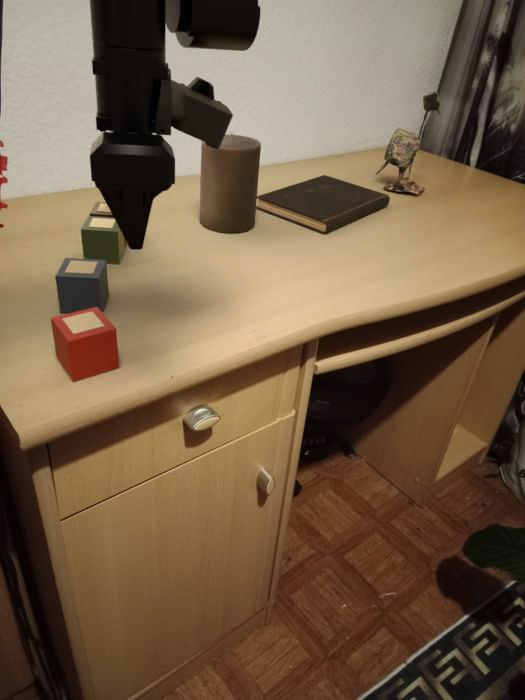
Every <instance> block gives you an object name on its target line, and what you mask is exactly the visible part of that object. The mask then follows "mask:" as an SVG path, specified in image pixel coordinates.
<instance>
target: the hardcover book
mask: <svg viewBox="0 0 525 700" xmlns="http://www.w3.org/2000/svg"><path fill="white" fill-rule="evenodd" d="M390 201H391V197H390V196H389V194H386V193H383V192H380V191H377V190H374V189H370V188H367V187H365V186H361V185H358V184H355V183H352V182H349V181H345V180H342V179H339V178H336V177H334V176H333V177H332V176H329V175H326V174H323V175H320V176H316V177H314V178H311V179H307V180H304V181H301V182H298V183H295V184H291V185H288V186H285V187H282V188H279V189H275V190H273V191H269V192H266V193H262V194H260V195H257V205H256V210H259V211H261V212H264V213H267V214H268V215H272V216H274V217H277V218H280V219H282V220H286V221H288V222H289V223H290V222H291V223H293V224H295V225H298V226H301V227H304V228H306V229H308V230H312V231H314V232H316V233H319V234H322V235H325V234H327V233H329V232H331V231H333V230H337V229H338V228H341V227H343V226H345V225H346V224H347V225H348V224H349V223H352V222H353V221H356V220H358V219H361V218H362V217H365V216H367V215H369V214H371V213H373V212H375V211H378V210H381V209H382V208H386V207H387V206H389V204H390Z"/></svg>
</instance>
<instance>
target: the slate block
mask: <svg viewBox="0 0 525 700" xmlns="http://www.w3.org/2000/svg"><path fill="white" fill-rule="evenodd" d="M55 285H56V292H57V299H58V300H57V301H58V306H59V313H60V314H69V313H73V312H77V311H81V310H86V309H90V308H94V307H98V308H99V309H100V310H101V312H102V313H103V314H104V311H105V308H106V305H107V302H108V300H109V296H110V289H109V288H110V287H109V275H108V264H107V261H106V260H95V259H84V258H79V257H77V258H76V257H65V258H64V259H63V261H62V263H61V265H60V266H59V268H58V270H57V272H56V274H55Z"/></svg>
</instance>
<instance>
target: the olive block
mask: <svg viewBox="0 0 525 700" xmlns="http://www.w3.org/2000/svg"><path fill="white" fill-rule="evenodd" d="M80 236H81V245H82V247H81V248H82V255H83V259H95V260H106V261H107V265H121V263H122V260H123V257H124V253H125V251H126V247H125V242H124V236H123V234H122V232H121V230H120V228H119V226H118V224H117V222H116V220H115V218H111V217H95V216H90V215H88V216H87V217H86V219H85V221H84V223H83V224H82V226H81V228H80Z"/></svg>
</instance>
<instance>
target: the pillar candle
mask: <svg viewBox="0 0 525 700" xmlns="http://www.w3.org/2000/svg"><path fill="white" fill-rule="evenodd" d="M200 143H201V146H200V148H201V149H200V150H201V151H200V176H199V178H200V181H199V223H200V224H201V225H202V226H203V227H204V228H206V229H208V230H212V231H215V232H219V233H225V234H226V233H228V234H234V233H237V234H238V233H242V232H243V233H244V232H248V231H250V230H252V229H253V228H254V227H255V225H256V214H257V209H256V206H257V203H258V199H257V196H258V187H259V173H260V162H261V151H262V143H261V141H259V140H258V139H255V138H253V137H250V136H246V135H240V134H239V135H238V134H233V132H230V134H227V133H226V134H225V136H224V138H223V141H222V143H221V146H220V148H219V149H214V148H212V147H209V146H207V145H206V144H205V142H204V141H201V142H200Z"/></svg>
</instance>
